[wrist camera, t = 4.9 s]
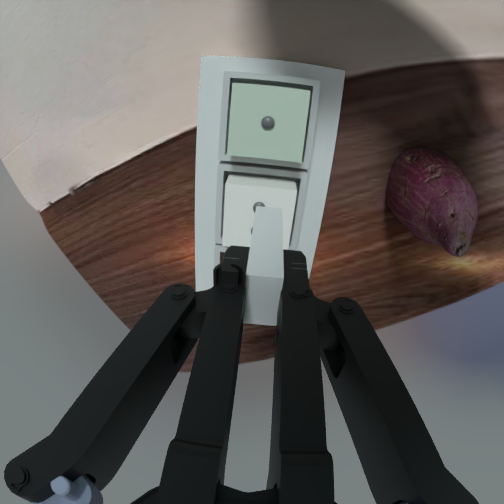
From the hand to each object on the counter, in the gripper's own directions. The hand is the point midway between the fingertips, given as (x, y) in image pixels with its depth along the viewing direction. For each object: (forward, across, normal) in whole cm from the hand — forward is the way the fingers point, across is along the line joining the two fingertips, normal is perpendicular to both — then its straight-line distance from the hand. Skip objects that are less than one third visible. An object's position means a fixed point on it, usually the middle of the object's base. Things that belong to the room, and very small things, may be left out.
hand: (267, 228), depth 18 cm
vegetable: (+16, +18, -1) cm, 24 cm away
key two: (+12, -1, -4) cm, 13 cm away
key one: (+13, -1, +5) cm, 14 cm away
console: (+15, -1, -4) cm, 16 cm away
